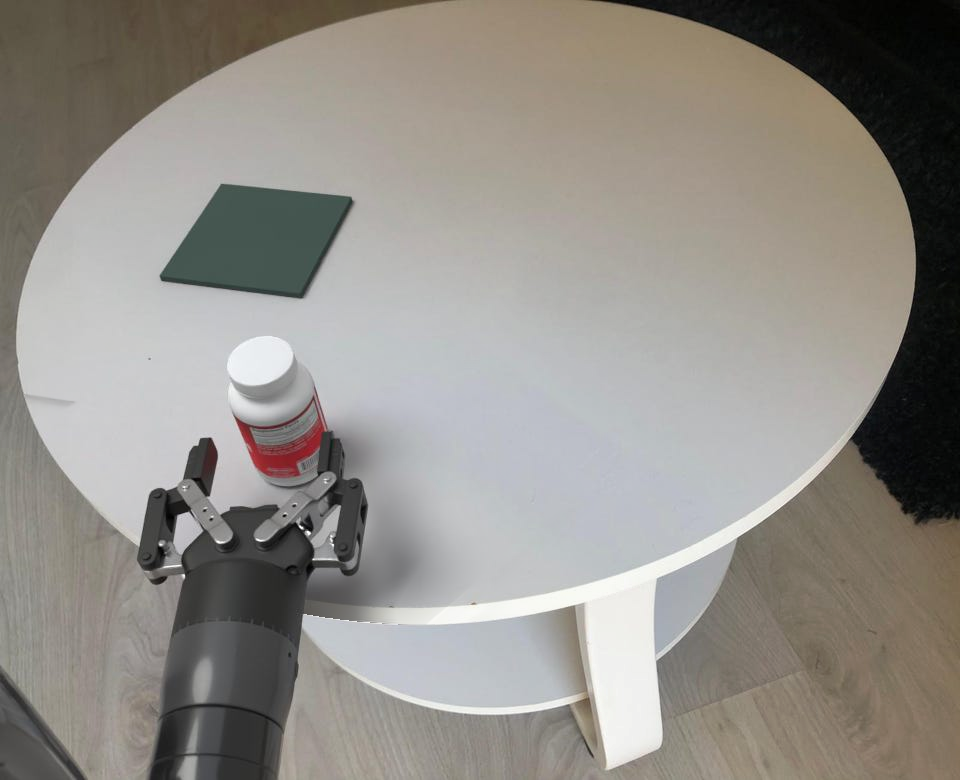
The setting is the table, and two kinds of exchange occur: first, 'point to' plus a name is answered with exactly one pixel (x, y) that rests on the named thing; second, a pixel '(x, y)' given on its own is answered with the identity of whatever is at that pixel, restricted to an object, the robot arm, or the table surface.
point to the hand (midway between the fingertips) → (269, 441)
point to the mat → (258, 240)
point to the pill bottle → (276, 410)
